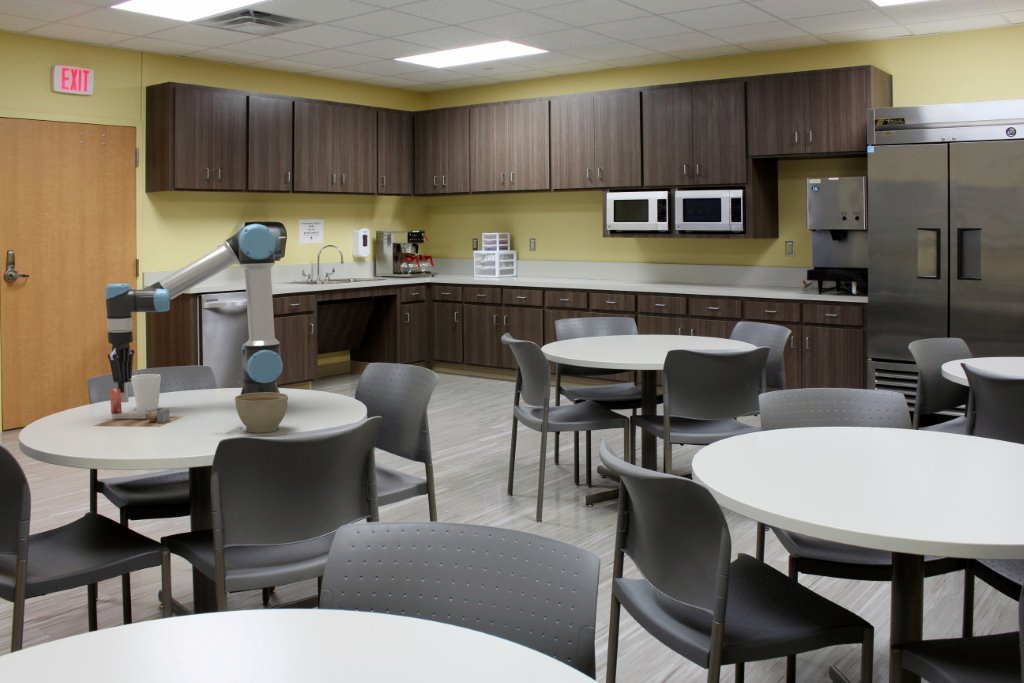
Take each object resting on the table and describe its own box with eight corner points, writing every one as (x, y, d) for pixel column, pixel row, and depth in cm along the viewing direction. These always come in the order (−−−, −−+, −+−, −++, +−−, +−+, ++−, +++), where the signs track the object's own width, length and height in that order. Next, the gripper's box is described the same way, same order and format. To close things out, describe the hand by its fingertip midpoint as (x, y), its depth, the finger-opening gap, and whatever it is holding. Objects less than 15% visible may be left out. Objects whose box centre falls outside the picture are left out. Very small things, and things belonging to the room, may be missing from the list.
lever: (170, 416, 313) (169, 386, 312) (165, 419, 308) (164, 389, 307) (114, 417, 311) (112, 387, 310) (108, 420, 307) (107, 390, 305)
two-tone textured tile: (169, 421, 306) (169, 408, 305) (163, 423, 301) (162, 411, 301) (163, 420, 306) (163, 408, 305) (157, 423, 302) (156, 411, 301)
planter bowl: (261, 437, 286) (260, 402, 285) (225, 432, 295) (223, 397, 294) (300, 428, 300) (298, 394, 299) (263, 423, 308) (262, 390, 307)
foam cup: (168, 411, 330) (166, 374, 329) (147, 416, 322) (146, 378, 321) (148, 409, 334) (146, 373, 333) (127, 414, 326) (125, 377, 325)
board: (183, 421, 313) (183, 406, 313) (159, 431, 297) (158, 416, 296) (120, 420, 316) (119, 405, 315) (92, 430, 299) (92, 415, 298)
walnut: (161, 421, 306) (160, 410, 305) (155, 423, 302) (155, 412, 302) (150, 421, 306) (150, 410, 306) (145, 423, 302) (144, 412, 302)
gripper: (119, 328, 316) (123, 398, 319) (98, 332, 304) (102, 405, 307) (140, 329, 316) (144, 398, 318) (120, 333, 303) (124, 405, 306)
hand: (123, 401), depth 312 cm, fingers closed
